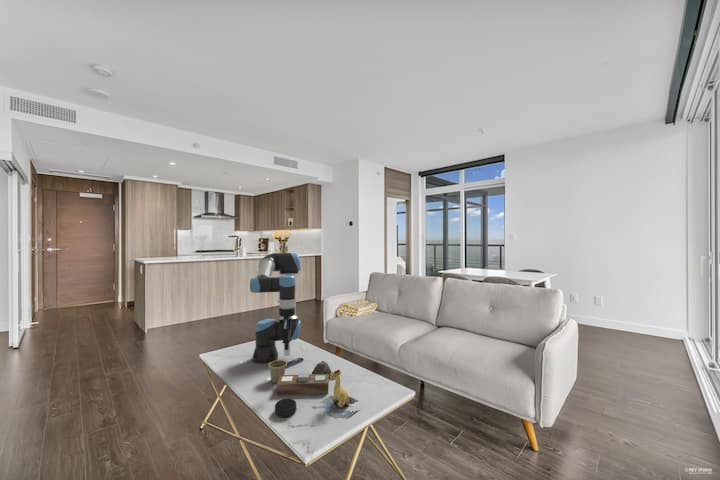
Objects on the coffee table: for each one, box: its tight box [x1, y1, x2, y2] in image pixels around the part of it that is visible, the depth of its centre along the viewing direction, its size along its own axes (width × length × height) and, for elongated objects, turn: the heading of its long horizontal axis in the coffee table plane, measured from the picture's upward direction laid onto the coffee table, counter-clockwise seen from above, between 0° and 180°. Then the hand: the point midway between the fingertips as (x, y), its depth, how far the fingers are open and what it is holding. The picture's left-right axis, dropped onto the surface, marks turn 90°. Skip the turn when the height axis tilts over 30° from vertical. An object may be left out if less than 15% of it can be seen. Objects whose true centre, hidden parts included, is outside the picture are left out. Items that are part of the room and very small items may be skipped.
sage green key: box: [315, 375, 326, 381], centre depth 151 cm, size 5×5×2 cm
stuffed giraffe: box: [313, 369, 359, 420], centre depth 135 cm, size 16×18×16 cm
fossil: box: [311, 360, 332, 380], centre depth 164 cm, size 11×9×10 cm
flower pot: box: [267, 359, 288, 384], centre depth 160 cm, size 9×9×9 cm
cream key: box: [281, 376, 293, 382], centre depth 150 cm, size 5×5×2 cm
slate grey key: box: [298, 372, 310, 382], centre depth 151 cm, size 5×5×2 cm
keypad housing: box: [276, 373, 330, 396], centre depth 151 cm, size 10×24×5 cm, turn 94°
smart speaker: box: [274, 398, 297, 418], centre depth 131 cm, size 9×9×4 cm
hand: (286, 355), depth 150 cm, fingers closed
